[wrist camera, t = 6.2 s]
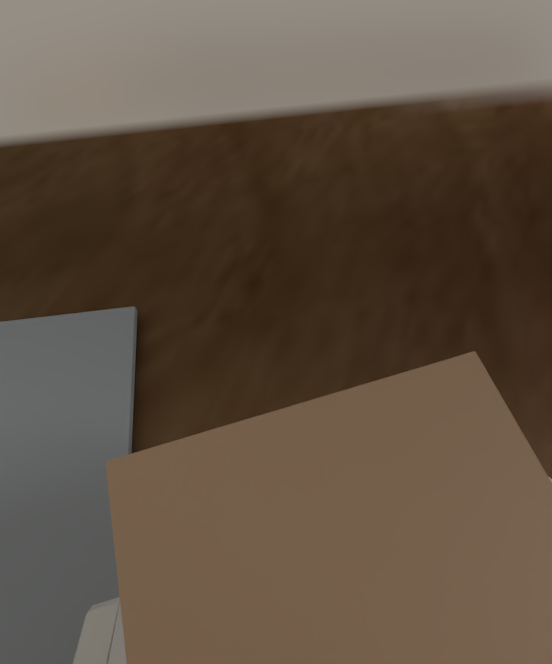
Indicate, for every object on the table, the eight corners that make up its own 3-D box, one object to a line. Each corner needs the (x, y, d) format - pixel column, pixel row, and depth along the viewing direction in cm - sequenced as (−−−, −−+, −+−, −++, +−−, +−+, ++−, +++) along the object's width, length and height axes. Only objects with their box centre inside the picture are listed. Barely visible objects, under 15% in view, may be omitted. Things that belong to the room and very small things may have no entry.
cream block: (371, 474, 12) (474, 350, 5) (445, 664, 10) (779, 874, 3) (216, 524, 12) (104, 461, 5) (261, 734, 10) (180, 1161, 3)
